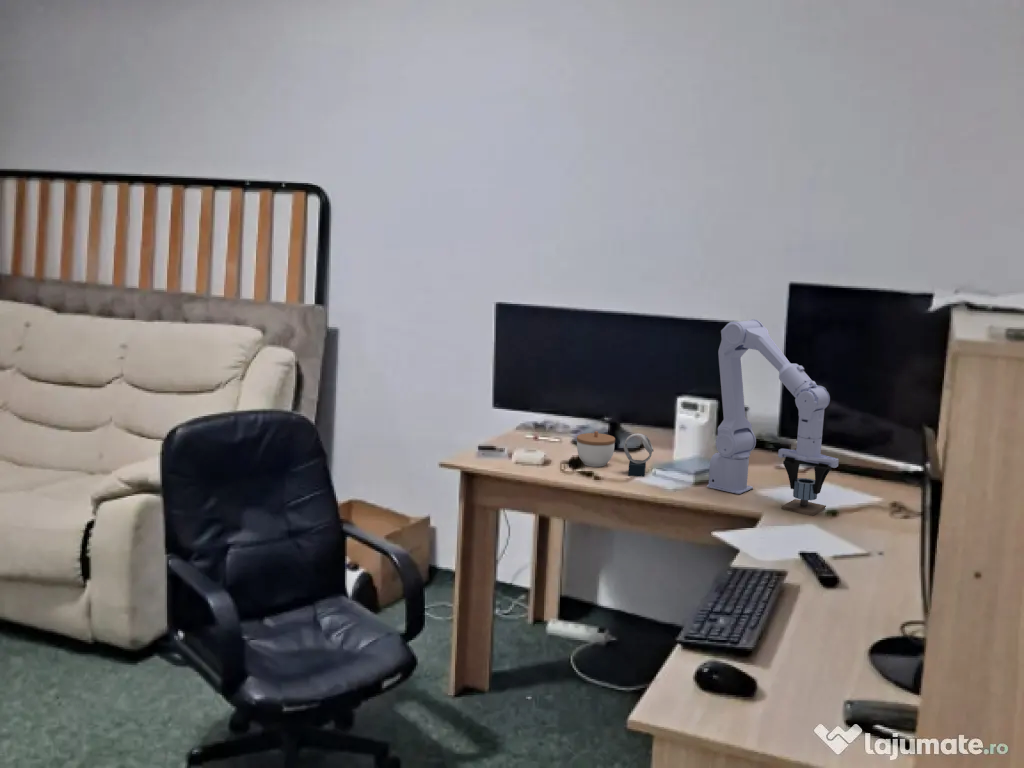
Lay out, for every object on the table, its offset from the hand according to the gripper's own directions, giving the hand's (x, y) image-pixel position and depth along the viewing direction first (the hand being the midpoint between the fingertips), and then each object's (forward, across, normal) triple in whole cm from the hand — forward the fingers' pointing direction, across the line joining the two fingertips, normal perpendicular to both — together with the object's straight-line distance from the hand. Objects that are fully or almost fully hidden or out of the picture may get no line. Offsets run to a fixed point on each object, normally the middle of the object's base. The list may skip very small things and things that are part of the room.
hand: (805, 490), depth 251 cm
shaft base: (+5, 0, 0) cm, 5 cm away
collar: (+2, 0, 0) cm, 2 cm away
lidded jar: (+5, -61, -2) cm, 61 cm away
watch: (+5, -47, -2) cm, 47 cm away
